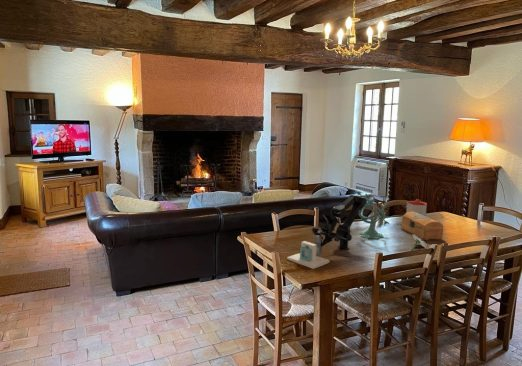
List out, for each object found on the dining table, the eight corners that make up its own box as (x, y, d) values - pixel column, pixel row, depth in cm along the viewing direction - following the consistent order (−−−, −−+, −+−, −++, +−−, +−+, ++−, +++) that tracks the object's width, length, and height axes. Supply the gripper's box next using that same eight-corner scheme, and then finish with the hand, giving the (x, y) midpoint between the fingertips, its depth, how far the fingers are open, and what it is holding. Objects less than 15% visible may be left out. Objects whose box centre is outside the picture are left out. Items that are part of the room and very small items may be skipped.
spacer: (302, 257, 239) (302, 246, 238) (311, 260, 234) (311, 249, 233) (299, 258, 237) (300, 247, 236) (308, 261, 232) (309, 250, 231)
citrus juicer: (409, 218, 343) (411, 196, 340) (428, 223, 330) (431, 199, 327) (399, 221, 333) (401, 198, 330) (419, 226, 320) (421, 202, 317)
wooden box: (399, 228, 312) (400, 211, 310) (418, 228, 315) (420, 211, 313) (421, 240, 283) (423, 221, 281) (442, 239, 286) (444, 221, 284)
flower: (403, 245, 253) (414, 229, 277) (398, 250, 255) (410, 234, 279) (420, 259, 248) (431, 241, 272) (415, 264, 251) (426, 247, 275)
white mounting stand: (303, 253, 250) (304, 237, 248) (329, 262, 236) (330, 244, 234) (287, 259, 240) (287, 241, 238) (313, 268, 225) (314, 250, 224)
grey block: (317, 253, 246) (318, 235, 244) (321, 254, 244) (322, 236, 242) (305, 257, 238) (306, 238, 236) (309, 258, 236) (310, 240, 234)
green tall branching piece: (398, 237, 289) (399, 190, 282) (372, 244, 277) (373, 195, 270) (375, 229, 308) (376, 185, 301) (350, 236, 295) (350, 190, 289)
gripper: (313, 214, 251) (301, 235, 245) (338, 220, 238) (326, 242, 232) (320, 224, 258) (309, 244, 252) (345, 231, 244) (333, 252, 239)
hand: (319, 245), depth 243 cm, fingers closed on grey block, 3 cm apart
